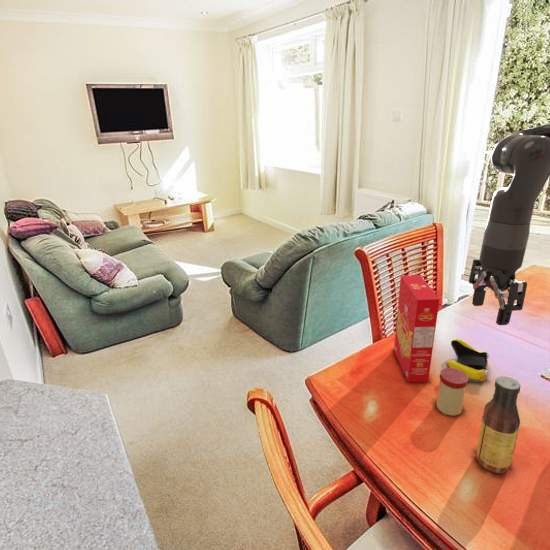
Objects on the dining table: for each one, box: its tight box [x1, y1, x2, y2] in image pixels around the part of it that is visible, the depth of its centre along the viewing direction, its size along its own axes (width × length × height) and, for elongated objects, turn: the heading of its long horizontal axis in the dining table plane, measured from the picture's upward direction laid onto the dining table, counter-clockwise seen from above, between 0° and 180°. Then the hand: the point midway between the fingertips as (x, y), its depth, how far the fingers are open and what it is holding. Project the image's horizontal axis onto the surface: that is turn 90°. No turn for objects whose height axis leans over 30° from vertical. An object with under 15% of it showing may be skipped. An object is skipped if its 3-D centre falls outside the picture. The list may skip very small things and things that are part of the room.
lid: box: [439, 367, 469, 389], centre depth 88 cm, size 6×6×1 cm
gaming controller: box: [445, 337, 490, 383], centre depth 103 cm, size 15×6×10 cm
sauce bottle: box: [475, 375, 521, 474], centre depth 73 cm, size 7×6×20 cm
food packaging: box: [393, 274, 440, 383], centre depth 102 cm, size 15×5×25 cm, turn 178°
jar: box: [436, 379, 467, 417], centre depth 90 cm, size 6×6×9 cm
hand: (488, 314), depth 80 cm, fingers open, 8 cm apart
